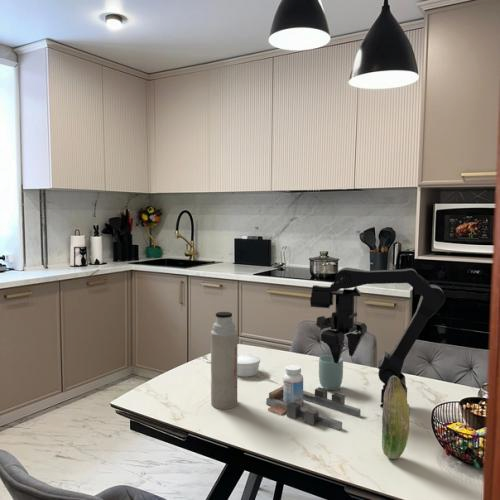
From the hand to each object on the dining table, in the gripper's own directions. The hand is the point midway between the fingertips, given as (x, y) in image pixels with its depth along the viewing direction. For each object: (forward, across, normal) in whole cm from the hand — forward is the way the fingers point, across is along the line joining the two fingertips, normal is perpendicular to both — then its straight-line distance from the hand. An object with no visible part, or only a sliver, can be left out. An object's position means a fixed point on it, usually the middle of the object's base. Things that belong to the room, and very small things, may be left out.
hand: (343, 359), depth 140 cm
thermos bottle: (+13, +26, -26) cm, 39 cm away
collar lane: (+13, +12, -4) cm, 18 cm away
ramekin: (+13, +2, -39) cm, 41 cm away
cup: (+13, -6, -8) cm, 17 cm away
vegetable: (+13, +22, +26) cm, 37 cm away
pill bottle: (+13, +12, -10) cm, 21 cm away
